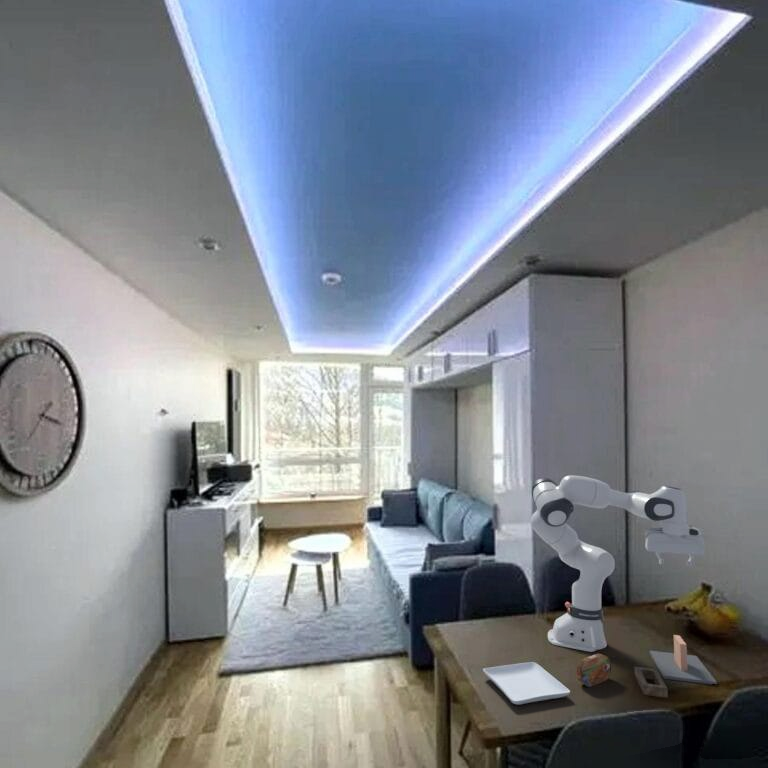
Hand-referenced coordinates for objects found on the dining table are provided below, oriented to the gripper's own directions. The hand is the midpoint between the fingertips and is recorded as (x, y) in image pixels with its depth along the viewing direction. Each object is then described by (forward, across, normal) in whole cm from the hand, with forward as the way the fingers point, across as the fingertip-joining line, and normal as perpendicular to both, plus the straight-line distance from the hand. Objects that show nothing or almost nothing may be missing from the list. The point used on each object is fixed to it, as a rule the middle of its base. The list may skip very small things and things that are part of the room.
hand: (675, 564), depth 193 cm
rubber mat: (+34, -2, -10) cm, 36 cm away
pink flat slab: (+33, -2, -10) cm, 35 cm away
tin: (+34, -34, -29) cm, 56 cm away
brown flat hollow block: (+34, -16, -27) cm, 46 cm away
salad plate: (+35, -57, -40) cm, 78 cm away
